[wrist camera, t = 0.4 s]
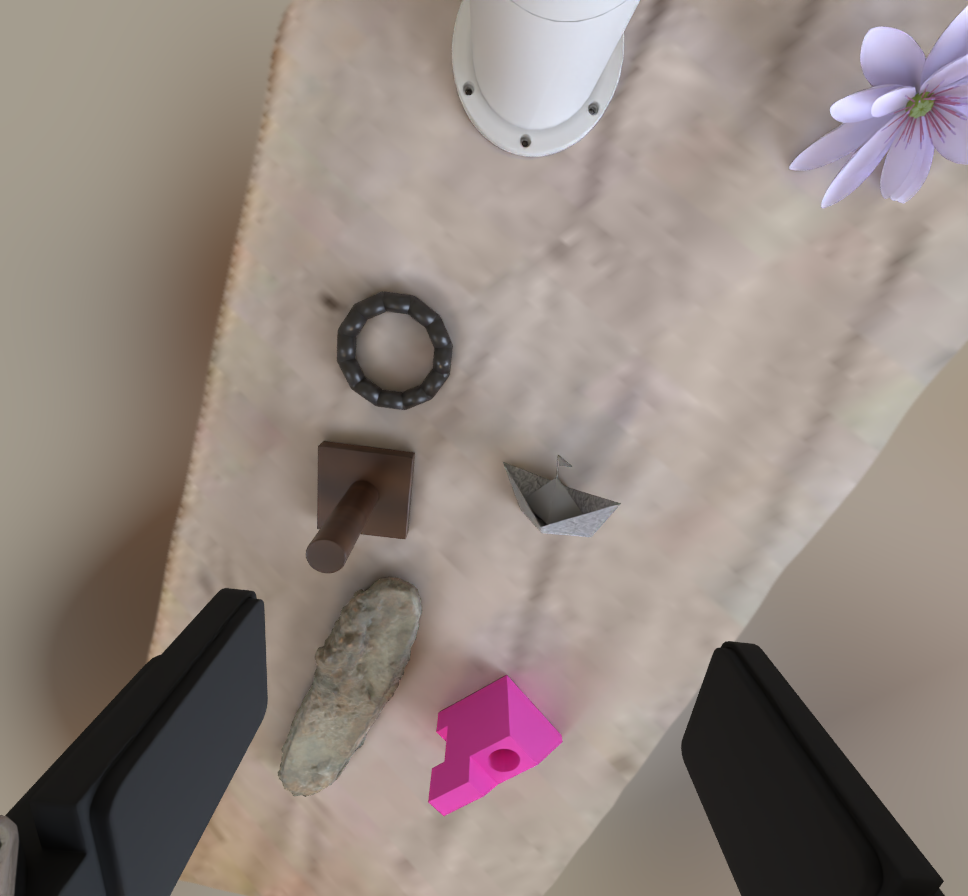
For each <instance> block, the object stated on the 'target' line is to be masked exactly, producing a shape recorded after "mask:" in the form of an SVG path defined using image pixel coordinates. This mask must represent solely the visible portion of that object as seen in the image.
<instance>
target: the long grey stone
mask: <svg viewBox="0 0 968 896" xmlns="http://www.w3.org/2000/svg"><path fill="white" fill-rule="evenodd" d="M421 613H422V605H421V598H420V597H419V594H418V591H417V589H416V588H415V587H414V585H412V584H410V583H409V582H406V581H404V580H402V579H399V578H392V577H391V578H390V577H387V578H381V579H380V580H377V581H375V583H373V584H372V585H371V587H369V589H368V590H366V591H363V589H360V590H358V591H357V592H355V593H354V597H353V598H352V599H351V600H350V602H349V603H348V604H347V605H346V606H344V607H343V608H342V610H341V614H340V615H341V616H340V617H339V620H337V621H336V622H335V626H334V628H333V629H332V633H331V635H330V636H329V637H328V638H327V639H326V640H325V645H324V646H323V647H320V648H318V650H317V652H316V654H315V660H316V663H317V669H316V671H315V674H314V681H313V684H312V686H311V689H310V690H309V691H308V693H307V694H306V696H305V697H304V700H303V702H302V705H301V707H300V708H299V709H298V710H297V712H296V715H295V717H294V720H293V722H292V725H291V730H290V732H289V734H288V739H287V740H286V741H285V744H284V745H283V747H282V752H283V755H282V762H281V765H280V770H279V771H278V776H279V779H280V780H281V781H282V783H283V786H284V789H286V790H288V791H290V792H291V793H292V794H293V796H298V795H303V796H305V797H306V796H309V795H313V794H315V793H318V792H320V791H321V790H323V789H325V788H327V787H328V786H329V785H332V783H333V782H334V781H335V780H337V779H338V777H339V776H340V775H341V773H342V771H343V770H344V769H345V767H346V764H348V762H349V760H350V758H351V756H352V755H353V753H354V751H356V749H358V748H359V747H361V745H363V743H364V740H365V736H366V735H367V732H368V730H369V729H370V727H371V726H372V725H373V723H374V721H375V720H376V719H377V718H378V716H379V715H380V711H381V710H382V708H383V707H384V705H385V703H386V702H387V701H389V699H390V697H392V696H393V695H394V691H395V690H396V688H397V687H398V685H399V680H401V677H402V675H404V668H405V666H406V665H407V662H408V661H409V660H410V653H411V650H410V649H411V646H412V644H413V643H414V641H415V640H416V634H417V631H418V629H419V623H418V621H419V617H420V615H421Z"/></svg>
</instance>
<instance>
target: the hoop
mask: <svg viewBox="0 0 968 896" xmlns="http://www.w3.org/2000/svg"><path fill="white" fill-rule="evenodd" d="M386 311H388V312H396V313H403V314H408V315H410V316H411V317H412V318H414V319H415V320H416V321H417V322H419V323H420V324H421V325H423V326H424V327H425V328H426V330H427V332H428V334H429V337H430V339H431V341H432V343H433V346H434V358H433V368H432V370H431V371H430V373H429V374H428V376H427V377H426V378H425V380H424V381H423V382H422V384H421V385H419V386H417V387H414V388H412V389H409V390H407V391H405V392H396V391H389V390H382V389H381V388H379V387H378V386H377V385H375V384H374V383H372V382H371V381H370V380H368V379H367V378H365V376H364V374H363V372H362V370H361V368H360V366H359V364H358V362H357V360H356V337H357V335H358V334H359V332H360V331H361V329H362V328H363V326H364V324H365V323H366V321H367V320H368V319H370V318H373V317H375V316H377V315H379V314H382V313H384V312H386ZM452 348H453V346H452V342H451V340H450V337H449V335H448V333H447V330H446V328H445V326H444V323H443V321H442V319H441V317H440V315H438V314H437V313H436V312H435V311H433V310H432V309H431V308H430V307H428V306H427V305H426V304H424V303H423V302H422V301H421V300H419V299H418V298H417V297H415V296H413V295H406V294H399V293H391V292H380V293H378V294H376V295H373V296H371V297H369V298H367V299H365V300H362V301H360V302H358V303H356V304H354V305H353V307H352V308H351V310H350V312H349V313H348V315H347V316H346V318H345V319H344V321H343V322H342V324H341V326H340V327H339V329H338V335H337V362H338V364H339V366H340V368H341V370H342V372H343V374H344V376H345V378H346V380H347V382H348V384H349V386H350V387H351V389H352V390H354V391H355V392H357V393H358V394H359V395H361V396H362V397H364V398H365V399H366V400H368V401H369V402H371V403H372V404H373V405H375V406H378V407H385V408H393V409H401V410H407V409H409V408H412V407H414V406H416V405H419V404H421V403H424V402H426V401H429V400H431V399H432V398H433V397H434V396H435V394H436V393H437V392H438V390H439V389H440V388H441V386H442V385H443V384H444V382H445V381H446V380H447V378H448V377H449V375H450V367H451V358H452Z"/></svg>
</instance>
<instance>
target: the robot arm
mask: <svg viewBox="0 0 968 896" xmlns="http://www.w3.org/2000/svg"><path fill="white" fill-rule="evenodd" d="M639 1H640V0H462V2H461V5H460V8H459V11H458V14H457V17H456V20H455V26H454V32H453V38H452V66H453V74H454V79H455V84H456V88H457V92H458V96H459V98H460V100H461V103H462V105H463V108H464V110H465V112H466V114H467V115H468V117H469V118H470V120H471V122H472V123H473V125H474V126H475V127H476V128H477V129H478V131H479V132H480V133H481V134H482V135H483V136H484V137H485V138H486V139H487V140H489V141H490V142H492V143H493V144H494V145H496V146H497V147H499V148H501V149H503V150H505V151H507V152H510V153H512V154H517V155H521V156H526V157H536V156H546V155H550V154H554V153H558V152H560V151H562V150H564V149H566V148H568V147H570V146H572V145H573V144H575V143H576V142H577V141H579V140H580V139H582V138H583V137H584V136H585V135H586V134H587V133H588V132H589V131H590V130H591V129H592V128H593V127H594V126H595V125H596V123H597V122H598V121H599V119H600V118H601V116H602V115H603V113H604V112H605V110H606V108H607V106H608V104H609V103H610V101H611V99H612V97H613V95H614V92H615V89H616V86H617V84H618V81H619V78H620V73H621V68H622V63H623V56H624V30H625V28H626V26H627V24H628V22H629V20H630V19H631V17H632V15H633V13H634V11H635V9H636V7H637V5H638V3H639ZM467 90H471V91H472V94H471V95H469V96H468V95H466V91H467ZM590 109H593V110H594V115H591V114H590V113H589V110H590ZM523 141H526V142H527V143H528V146H527V147H523V146H522V142H523ZM267 702H268V695H267V668H266V641H265V614H264V602H263V600H261V599H257V598H256V594H255V592H253V591H248V590H239V589H229V588H224V589H221V590H220V591H219V592H218V593H217V594H216V595H215V596H214V597H213V598H212V600H211V601H210V602H209V603H208V604H207V605H206V606H205V607H204V608H203V609H202V610H201V612H200V613H199V614H198V615H197V616H196V617H195V618H194V619H193V620H192V621H191V623H190V624H189V625H188V626H187V627H186V628H185V629H184V630H183V631H182V632H181V634H180V635H179V636H178V637H177V638H176V639H175V640H174V641H173V642H172V643H171V645H170V646H169V647H168V648H167V649H166V650H165V651H164V652H163V653H162V654H161V655H158V656H156V657H154V658H152V659H151V660H150V661H149V662H148V663H147V664H146V665H145V666H144V667H143V668H142V669H141V670H140V671H139V672H138V673H137V674H136V675H135V676H134V677H133V678H132V680H131V681H130V682H129V683H128V684H127V685H126V686H125V687H124V688H123V689H122V690H121V691H120V692H119V694H118V695H117V696H116V697H115V698H114V699H113V700H112V701H111V702H110V703H109V704H108V706H107V707H106V708H105V709H104V710H103V711H102V712H101V713H100V714H99V715H98V716H97V717H96V718H95V720H93V722H92V723H91V724H90V725H89V726H88V727H87V728H86V729H85V730H84V731H83V732H82V733H81V734H80V736H79V737H78V738H77V739H76V740H75V741H74V742H73V743H72V744H71V745H70V746H69V747H68V748H67V750H66V751H65V752H64V753H63V754H62V755H61V756H60V757H59V758H58V759H57V760H56V761H55V762H54V764H53V765H52V766H51V767H50V768H49V769H48V770H47V771H46V772H45V773H44V774H43V775H42V777H41V778H40V779H39V780H38V781H37V782H36V783H35V784H34V785H33V786H32V787H31V788H30V789H29V791H28V792H27V793H26V794H25V795H24V796H23V797H22V798H21V799H20V800H19V801H18V802H17V803H16V805H15V806H14V807H13V808H12V809H11V810H10V811H9V812H8V813H7V814H6V815H5V816H2V815H0V896H170V895H171V892H172V891H173V889H174V887H175V885H176V883H177V881H178V879H179V878H180V876H181V874H182V872H183V870H184V868H185V866H186V864H187V862H188V861H189V859H190V857H191V855H192V853H193V851H194V849H195V847H196V845H197V843H198V842H199V840H200V838H201V836H202V834H203V832H204V830H205V828H206V826H207V825H208V823H209V821H210V819H211V817H212V815H213V813H214V811H215V809H216V808H217V806H218V804H219V802H220V800H221V798H222V796H223V794H224V792H225V790H226V789H227V787H228V785H229V783H230V781H231V779H232V777H233V775H234V773H235V772H236V770H237V768H238V766H239V764H240V762H241V760H242V758H243V756H244V755H245V753H246V751H247V749H248V747H249V745H250V743H251V741H252V739H253V737H254V736H255V734H256V732H257V730H258V728H259V726H260V724H261V722H262V720H263V718H264V715H265V712H266V708H267ZM681 749H682V756H683V760H684V763H685V765H686V767H687V770H688V772H689V775H690V777H691V779H692V781H693V784H694V786H695V788H696V791H697V793H698V796H699V798H700V800H701V803H702V805H703V807H704V810H705V812H706V814H707V816H708V819H709V821H710V824H711V826H712V828H713V831H714V833H715V835H716V838H717V840H718V842H719V845H720V847H721V849H722V852H723V854H724V856H725V859H726V861H727V863H728V866H729V868H730V870H731V873H732V875H733V877H734V880H735V882H736V884H737V887H738V889H739V891H740V894H741V896H945V895H944V894H943V893H942V891H941V890H940V889H939V887H940V886H941V884H942V883H943V882H944V881H943V879H942V878H941V877H940V875H939V874H938V873H937V872H936V870H935V869H934V868H933V867H932V865H931V864H930V863H929V862H928V860H927V859H926V858H925V857H924V855H923V854H922V853H921V852H920V850H919V849H918V848H917V846H916V845H915V844H914V842H913V841H912V840H911V839H910V837H909V836H908V835H907V834H906V832H905V831H904V830H903V829H902V827H901V826H900V825H899V823H898V822H897V821H896V820H895V818H894V817H893V816H892V814H891V813H890V812H889V811H888V809H887V808H886V807H885V806H884V804H883V803H882V802H881V800H880V799H879V798H878V797H877V795H876V794H875V793H874V792H873V790H872V789H871V788H870V786H869V785H868V784H867V783H866V781H865V780H864V779H863V778H862V777H861V775H860V774H859V772H858V771H857V770H856V769H855V767H854V766H853V765H852V764H851V762H850V761H849V760H848V759H847V757H846V756H845V755H844V753H843V752H842V751H841V750H840V748H839V747H838V746H837V744H836V743H835V742H834V741H833V739H832V738H831V737H830V736H829V734H828V733H827V732H826V731H825V729H824V728H823V727H822V725H821V724H820V723H819V722H818V720H817V719H816V718H815V716H814V715H813V714H812V713H811V712H810V710H809V709H808V708H807V707H806V705H805V704H804V702H803V701H802V700H801V699H800V697H799V696H798V695H797V694H796V692H795V691H794V690H793V689H792V687H791V686H790V685H789V683H788V682H787V681H786V680H785V678H784V677H783V676H782V674H781V673H780V672H779V671H778V669H777V668H776V667H775V666H774V664H773V663H772V662H771V661H770V659H769V658H768V657H767V655H766V654H765V653H764V652H763V650H762V649H761V648H760V647H759V646H757V645H755V644H749V643H740V642H731V641H728V642H725V643H723V644H722V646H721V648H717V649H715V651H714V652H713V655H712V658H711V661H710V663H709V666H708V669H707V672H706V675H705V677H704V680H703V683H702V686H701V689H700V692H699V694H698V697H697V700H696V703H695V706H694V708H693V711H692V714H691V717H690V720H689V722H688V725H687V728H686V731H685V734H684V736H683V739H682V745H681Z"/></svg>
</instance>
